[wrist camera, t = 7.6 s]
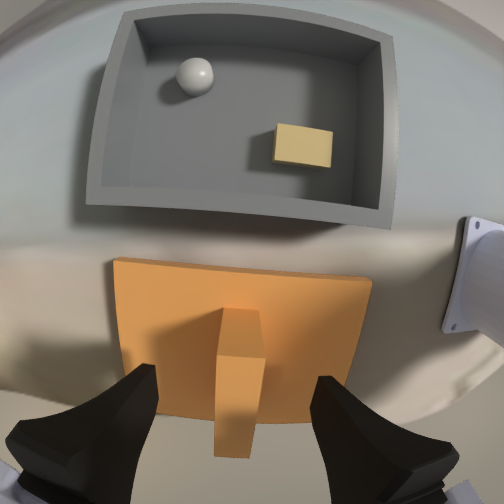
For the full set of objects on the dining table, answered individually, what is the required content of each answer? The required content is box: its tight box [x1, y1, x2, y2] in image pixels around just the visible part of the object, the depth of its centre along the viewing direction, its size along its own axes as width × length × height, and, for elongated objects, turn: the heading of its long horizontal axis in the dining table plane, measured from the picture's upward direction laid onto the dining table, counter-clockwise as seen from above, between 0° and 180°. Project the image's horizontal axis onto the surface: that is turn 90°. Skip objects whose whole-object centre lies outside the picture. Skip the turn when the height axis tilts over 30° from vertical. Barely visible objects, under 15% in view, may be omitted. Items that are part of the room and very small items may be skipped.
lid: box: [113, 257, 373, 458], centre depth 12 cm, size 12×9×6 cm
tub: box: [85, 3, 398, 230], centre depth 10 cm, size 12×9×4 cm
